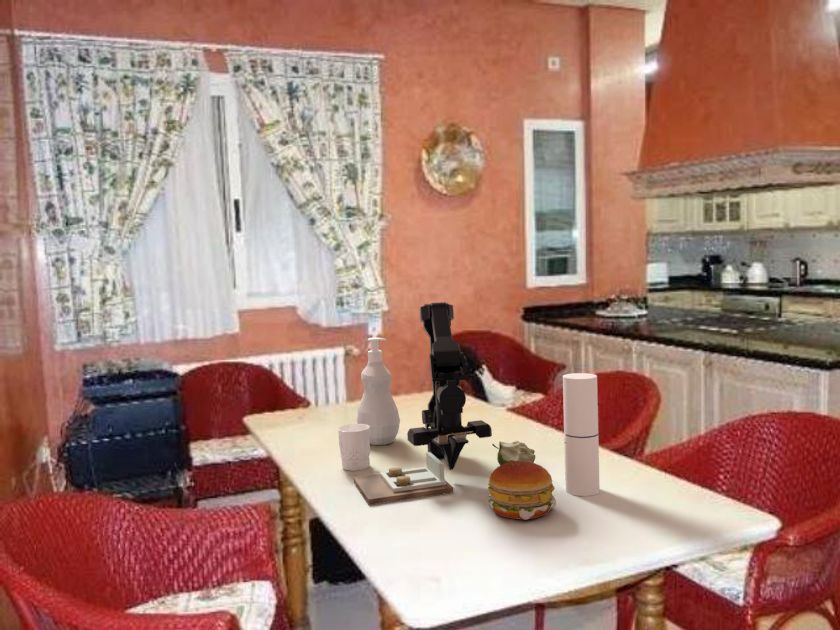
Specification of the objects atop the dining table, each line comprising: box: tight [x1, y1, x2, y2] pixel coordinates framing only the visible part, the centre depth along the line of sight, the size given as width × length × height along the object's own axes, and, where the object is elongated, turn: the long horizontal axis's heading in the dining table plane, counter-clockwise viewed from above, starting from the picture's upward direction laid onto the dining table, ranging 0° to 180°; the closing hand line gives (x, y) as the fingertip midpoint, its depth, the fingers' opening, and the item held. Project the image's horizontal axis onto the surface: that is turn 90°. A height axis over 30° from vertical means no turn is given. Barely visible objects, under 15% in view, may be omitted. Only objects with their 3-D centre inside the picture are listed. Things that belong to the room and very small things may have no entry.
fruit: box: [492, 440, 536, 466], centre depth 171 cm, size 9×9×8 cm
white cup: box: [337, 423, 371, 472], centre depth 178 cm, size 8×8×10 cm
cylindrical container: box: [562, 372, 601, 497], centre depth 152 cm, size 7×7×25 cm
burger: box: [487, 461, 557, 520], centre depth 143 cm, size 13×14×10 cm
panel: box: [379, 451, 447, 492], centre depth 161 cm, size 12×12×4 cm
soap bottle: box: [356, 337, 401, 446], centre depth 200 cm, size 17×12×29 cm
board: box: [352, 466, 454, 506], centre depth 161 cm, size 19×16×3 cm
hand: (451, 469), depth 164 cm, fingers closed
